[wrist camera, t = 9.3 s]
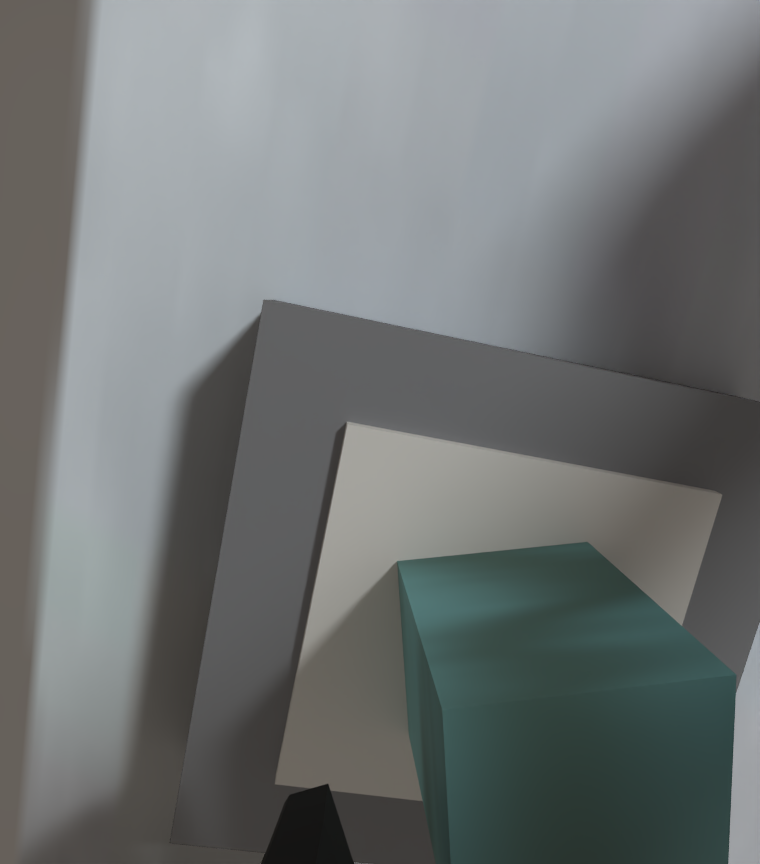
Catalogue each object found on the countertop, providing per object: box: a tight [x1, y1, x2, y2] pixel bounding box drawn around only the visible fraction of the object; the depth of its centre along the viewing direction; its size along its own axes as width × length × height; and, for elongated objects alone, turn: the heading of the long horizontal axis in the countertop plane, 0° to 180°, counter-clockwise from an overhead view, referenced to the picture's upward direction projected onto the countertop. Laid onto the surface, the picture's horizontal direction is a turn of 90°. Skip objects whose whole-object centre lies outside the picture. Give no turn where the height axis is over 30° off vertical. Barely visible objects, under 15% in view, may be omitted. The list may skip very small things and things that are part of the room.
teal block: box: [397, 542, 736, 864], centre depth 12 cm, size 4×4×5 cm
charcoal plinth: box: [170, 300, 760, 864], centre depth 16 cm, size 12×12×3 cm
